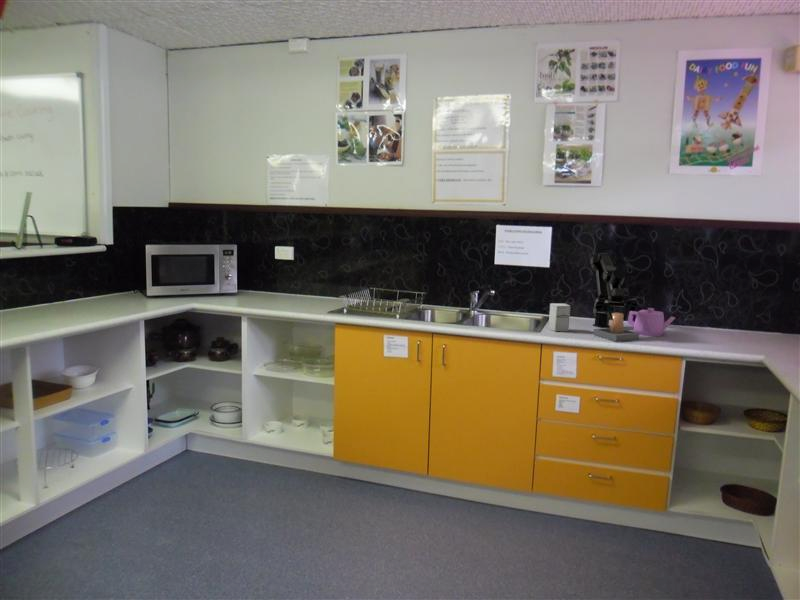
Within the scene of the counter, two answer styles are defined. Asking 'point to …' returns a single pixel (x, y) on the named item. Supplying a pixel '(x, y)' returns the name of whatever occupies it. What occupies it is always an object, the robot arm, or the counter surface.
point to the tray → (616, 335)
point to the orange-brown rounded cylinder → (617, 323)
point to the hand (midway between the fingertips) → (617, 319)
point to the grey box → (559, 317)
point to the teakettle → (649, 322)
